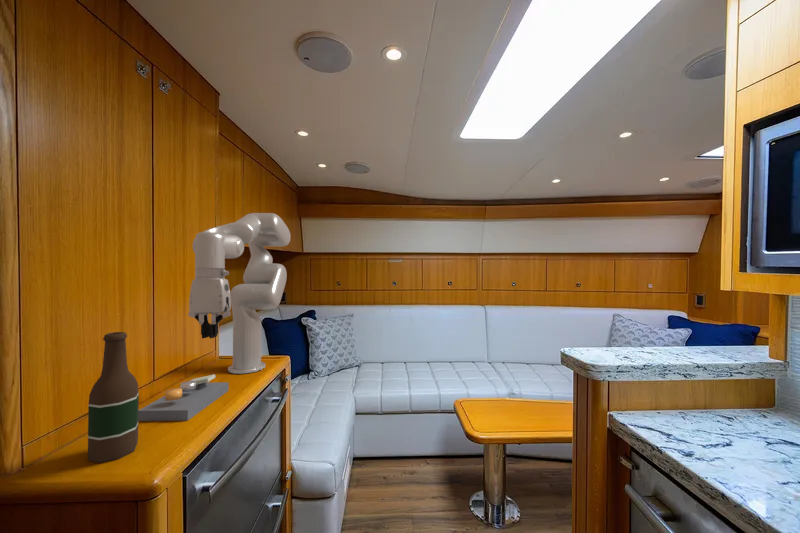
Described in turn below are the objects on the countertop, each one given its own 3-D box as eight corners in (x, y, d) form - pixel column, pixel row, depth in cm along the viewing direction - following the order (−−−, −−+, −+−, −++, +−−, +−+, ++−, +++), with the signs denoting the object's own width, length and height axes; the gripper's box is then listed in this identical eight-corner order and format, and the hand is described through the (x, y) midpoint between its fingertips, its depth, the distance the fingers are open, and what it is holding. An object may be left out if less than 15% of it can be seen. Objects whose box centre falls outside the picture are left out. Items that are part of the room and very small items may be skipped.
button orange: (171, 395, 86) (171, 388, 86) (185, 395, 86) (185, 388, 86) (161, 400, 82) (161, 393, 82) (176, 400, 82) (176, 393, 82)
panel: (188, 390, 100) (188, 379, 100) (228, 390, 100) (228, 379, 100) (137, 421, 80) (137, 406, 80) (187, 420, 80) (187, 406, 80)
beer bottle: (92, 469, 61) (94, 338, 61) (83, 454, 65) (84, 333, 66) (144, 450, 67) (145, 332, 67) (132, 438, 72) (133, 328, 72)
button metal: (185, 387, 92) (185, 380, 92) (198, 387, 92) (198, 380, 92) (177, 391, 88) (177, 385, 88) (190, 391, 88) (190, 385, 88)
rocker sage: (194, 382, 98) (193, 378, 98) (215, 377, 98) (214, 374, 98) (185, 386, 94) (185, 383, 94) (208, 382, 94) (207, 378, 94)
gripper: (242, 274, 100) (242, 334, 100) (190, 274, 100) (190, 335, 100) (230, 274, 93) (230, 340, 93) (174, 274, 93) (174, 340, 92)
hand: (209, 337), depth 96 cm, fingers closed
